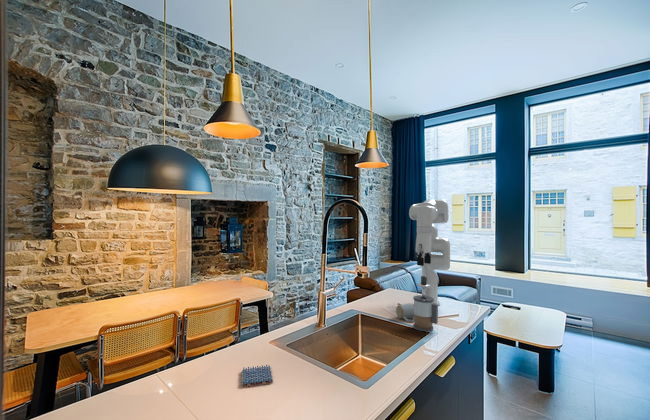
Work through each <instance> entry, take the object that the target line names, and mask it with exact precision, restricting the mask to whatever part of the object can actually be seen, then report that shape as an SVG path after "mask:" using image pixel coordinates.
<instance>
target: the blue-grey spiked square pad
mask: <svg viewBox="0 0 650 420" xmlns="http://www.w3.org/2000/svg"><path fill="white" fill-rule="evenodd" d="M241 373H242V374H241V379H240V380H241V384H240V385H241V387H242V388H243V389H244V388H248V387H249V388H251V387H256V386H257V387H258V386H265V385H271V384H274V376H273V372H272V367H271V365H270V364H269V365H268V364H266V365H262V364H261V366H259V365H257V366H255V367H254V366H252V367H250V366H247V367H245V366H244V367H243V369H242V370H241Z"/></svg>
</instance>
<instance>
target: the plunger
mask: <svg viewBox="0 0 650 420" xmlns="http://www.w3.org/2000/svg"><path fill="white" fill-rule="evenodd" d="M417 287H420V288H421V296H422V299H425V288H427V287H430V284H427V276H422V275H421V276H420V282H419V283H417ZM422 287H423V289H422Z"/></svg>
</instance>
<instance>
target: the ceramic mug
mask: <svg viewBox="0 0 650 420" xmlns="http://www.w3.org/2000/svg"><path fill="white" fill-rule="evenodd" d="M395 309H396V310H395V311H396V316H397V317H398V319H400V320H405V322H408V323H414V304H412V303H411V302H410V303H404V304H399V305H397V306H396V308H395Z"/></svg>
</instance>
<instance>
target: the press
mask: <svg viewBox="0 0 650 420" xmlns="http://www.w3.org/2000/svg"><path fill="white" fill-rule="evenodd" d="M412 297H413V298H412V300H413V306H414V318H413V319H414V322H413V325H412V327H413V326H414V327H413V329H414V328H415V329H414V330H416V331H419V332H423V331H430V332H433V331H434V326H433V325H436V324H438V323H439V306H438V304H434V303H433V302H434V298H432V297H429V296H425V299H422V294H421V295H420V294H419V295H417V294H416V295H414V296H412Z"/></svg>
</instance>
